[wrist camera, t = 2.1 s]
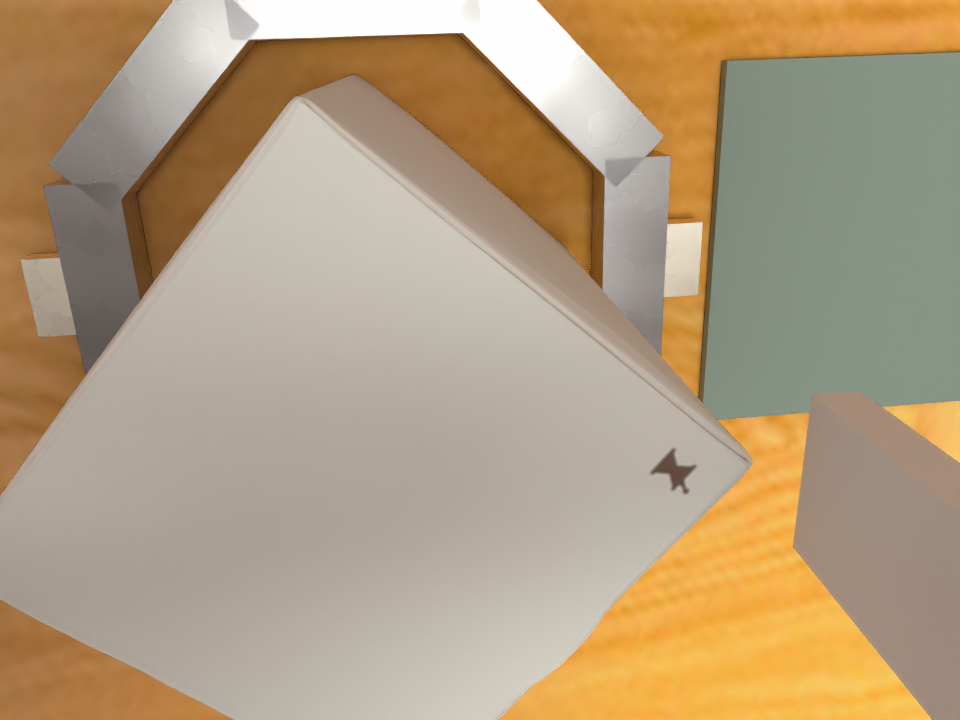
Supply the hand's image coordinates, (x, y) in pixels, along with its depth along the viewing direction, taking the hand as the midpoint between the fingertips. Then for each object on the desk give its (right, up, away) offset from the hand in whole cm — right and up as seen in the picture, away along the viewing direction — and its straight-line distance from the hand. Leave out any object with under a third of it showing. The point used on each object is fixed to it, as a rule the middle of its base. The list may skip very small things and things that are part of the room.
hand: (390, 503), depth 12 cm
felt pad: (+15, +6, +15) cm, 22 cm away
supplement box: (-2, +5, +14) cm, 15 cm away
